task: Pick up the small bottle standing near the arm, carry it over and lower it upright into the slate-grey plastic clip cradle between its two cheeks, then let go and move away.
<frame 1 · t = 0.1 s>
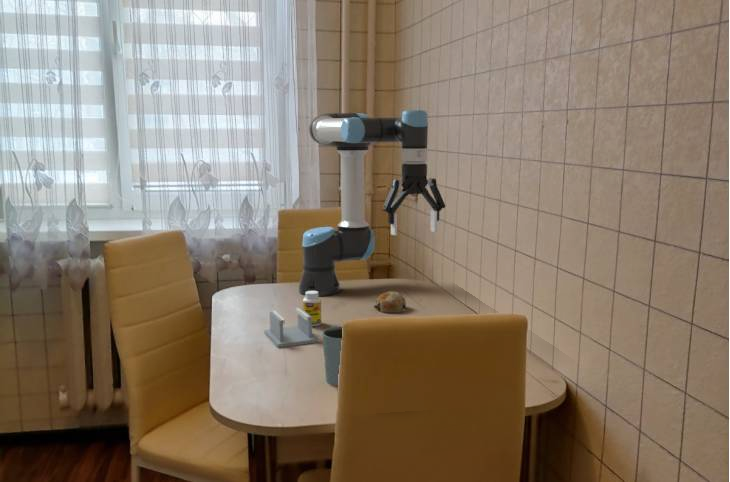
hand: (414, 233, 201), 28 cm above the table, tool pointing down, fingers open, 13 cm apart
grey-green cup: (344, 380, 160), on the table
supplement bottle: (312, 324, 204), on the table
clip cradle: (291, 337, 191), on the table
brown domed lump: (389, 310, 220), on the table
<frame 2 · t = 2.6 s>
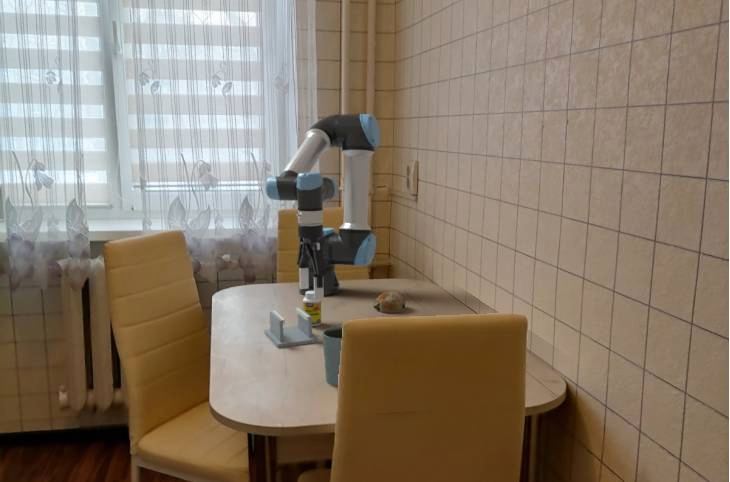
hand: (311, 293, 202), 10 cm above the table, tool pointing down, fingers open, 13 cm apart
nothing on the table moved.
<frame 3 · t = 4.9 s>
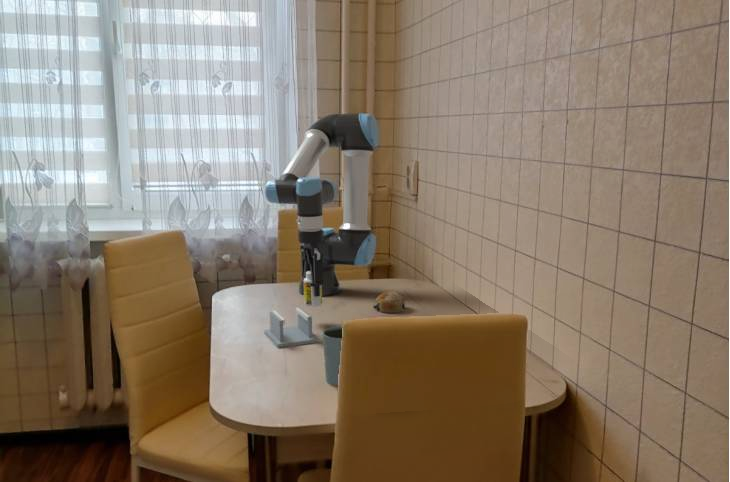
hand: (312, 303, 204), 7 cm above the table, tool pointing down, fingers closed on supplement bottle, 5 cm apart
supplement bottle: (313, 304, 204), point 6 cm above the table, touching gripper
everything else where it was.
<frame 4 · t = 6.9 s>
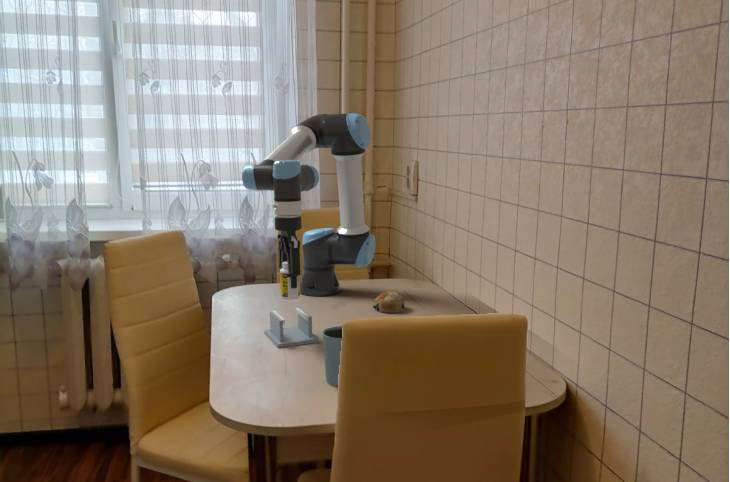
hand: (289, 296, 189), 12 cm above the table, tool pointing down, fingers closed on supplement bottle, 5 cm apart
supplement bottle: (290, 297, 189), point 12 cm above the table, touching gripper
everything else where it was.
when the fingers open (2 cm above the table, at t = 8.9 s): supplement bottle stays where it is, resting on clip cradle.
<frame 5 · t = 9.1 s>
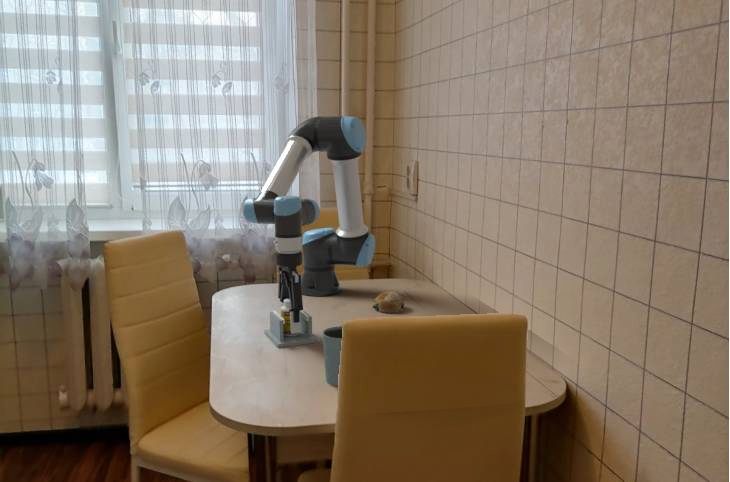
hand: (290, 328, 191), 3 cm above the table, tool pointing down, fingers open, 8 cm apart
supplement bottle: (291, 334, 191), point 1 cm above the table, touching clip cradle
everything else where it was.
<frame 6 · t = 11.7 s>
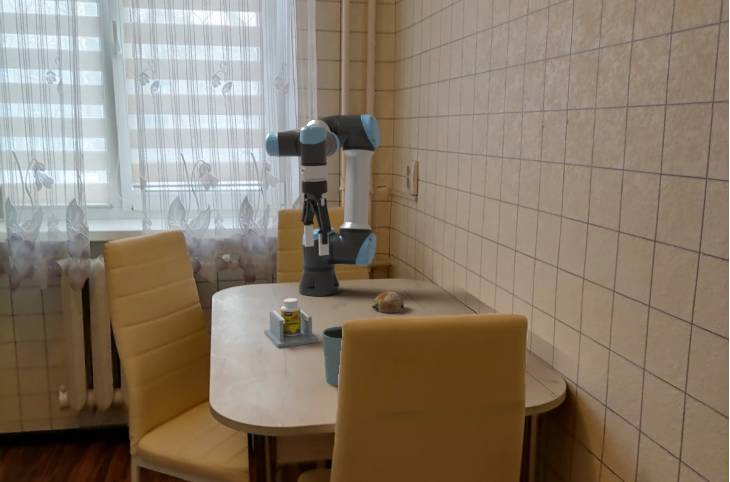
hand: (316, 250, 198), 23 cm above the table, tool pointing down, fingers open, 13 cm apart
nothing on the table moved.
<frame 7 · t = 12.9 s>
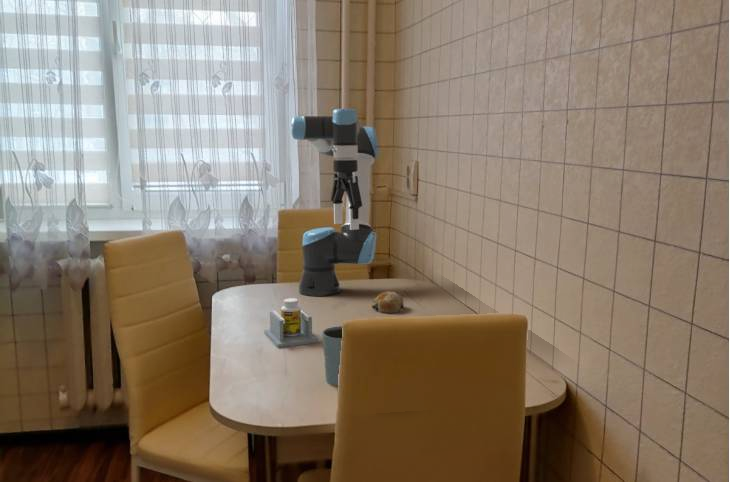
hand: (346, 226, 210), 29 cm above the table, tool pointing down, fingers open, 13 cm apart
nothing on the table moved.
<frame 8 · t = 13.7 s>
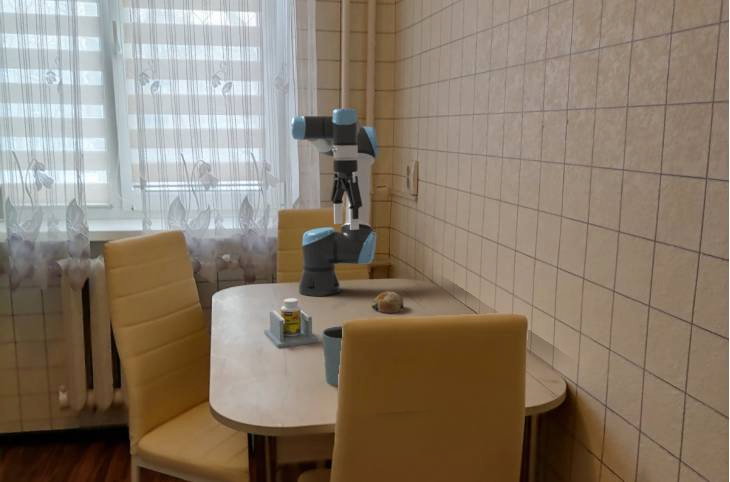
hand: (346, 226, 210), 29 cm above the table, tool pointing down, fingers open, 13 cm apart
nothing on the table moved.
at the end: supplement bottle 0.2 cm off-centre on the clip cradle, point 0.8 cm above the clip cradle's base; supplement bottle tilted 0°; the gripper is holding nothing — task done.
